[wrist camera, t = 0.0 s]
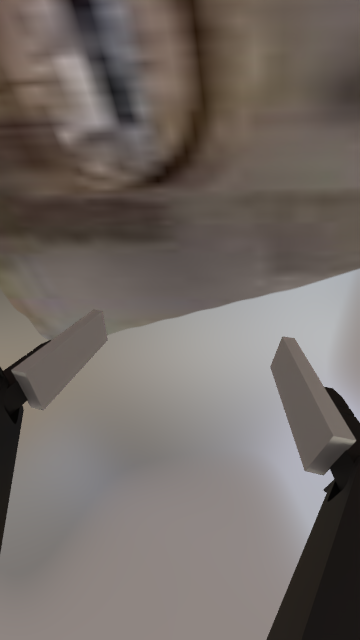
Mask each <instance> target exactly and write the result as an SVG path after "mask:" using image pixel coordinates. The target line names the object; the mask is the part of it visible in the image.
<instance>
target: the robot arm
mask: <svg viewBox="0 0 360 640" xmlns="http://www.w3.org/2000/svg"><path fill="white" fill-rule="evenodd" d="M106 341H107V334H106V328H105V322H104V316H103V311H99V310H92V311H91V312H90V313H88V314H87V315H86V316H84V317H83V318H82V319H80V320H79V321H77V322H76V323H75V324H73V325H72V326H71V327H69V328H68V329H66V330H65V331H64V332H62V333H61V334H60V335H58V336H57V337H56V338H54V339H53V340H49V341H47V342H45V343H43V344H41V345H39V346H38V347H36V348H35V349H34V350H33V351H31V352H29V353H28V354H27V355H25V356H24V357H22V358H21V359H19V360H18V361H17V362H15V363H14V364H12V365H11V366H10V367H8V368H7V369H5V370H4V371H2V369H1V367H0V551H1V545H2V539H3V533H4V527H5V520H6V514H7V508H8V503H9V496H10V490H11V484H12V478H13V472H14V466H15V459H16V453H17V447H18V441H19V435H20V429H21V423H22V417H23V406H22V405H23V404H24V403H25V402H26V401H28V403H29V405H30V406H31V407H32V408H36V409H41V410H44V409H45V408H46V407H47V406H48V405H49V404H50V402H51V401H52V400H53V399H54V398H55V397H56V396H57V395H58V394H59V393H60V392H61V391H62V389H63V388H64V387H65V386H66V385H67V384H68V383H69V382H70V381H71V380H72V378H73V377H74V376H75V375H76V374H77V373H78V372H79V371H80V370H81V369H82V367H83V366H84V365H85V364H86V363H87V362H88V361H89V360H90V359H91V357H93V356H94V354H95V353H96V352H97V351H98V350H99V349H100V348H101V347H102V346H103V345H104V343H105V342H106ZM271 370H272V373H273V376H274V379H275V382H276V385H277V388H278V391H279V394H280V397H281V400H282V403H283V406H284V410H285V413H286V416H287V419H288V422H289V425H290V428H291V430H292V434H293V437H294V439H295V442H296V445H297V449H298V452H299V455H300V458H301V461H302V464H303V467H304V470H305V471H307V472H312V473H316V474H320V475H324V474H325V473H326V472H327V471H328V470H329V469H331V472H332V474H333V477H334V480H333V481H332V482H331V483H330V484H329V485H328V486H327V487H326V488H325V489H324V491H325V492H327V494H326V497H325V499H324V501H323V504H322V506H321V509H320V511H319V513H318V516H317V518H316V521H315V523H314V526H313V528H312V530H311V533H310V535H309V538H308V540H307V543H306V545H305V547H304V550H303V552H302V555H301V557H300V560H299V562H298V565H297V567H296V569H295V572H294V574H293V577H292V579H291V581H290V584H289V586H288V589H287V591H286V594H285V596H284V598H283V601H282V603H281V606H280V608H279V611H278V613H277V615H276V618H275V620H274V623H273V625H272V628H271V630H270V632H269V635H268V637H267V640H360V423H359V421H358V420H357V418H356V417H354V414H353V412H352V411H351V409H349V407H348V405H347V404H346V402H345V401H344V399H343V398H342V397H341V396H340V395H339V394H338V393H337V392H336V391H335V390H334V389H332V388H327V387H324V386H323V385H322V383H321V382H320V380H319V378H318V377H317V375H316V373H315V371H314V370H313V368H312V366H311V365H310V363H309V362H308V360H307V358H306V357H305V355H304V353H303V352H302V350H301V348H300V347H299V345H298V343H297V342H296V340H295V339H294V338H288V337H282V339H281V341H280V344H279V347H278V349H277V351H276V354H275V357H274V359H273V362H272V364H271Z"/></svg>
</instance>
